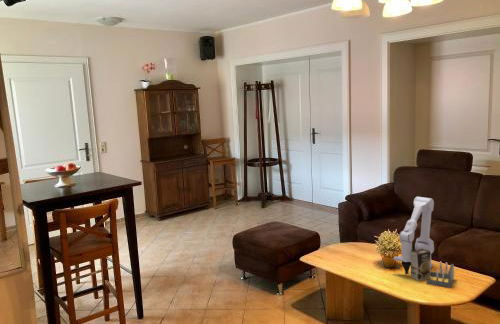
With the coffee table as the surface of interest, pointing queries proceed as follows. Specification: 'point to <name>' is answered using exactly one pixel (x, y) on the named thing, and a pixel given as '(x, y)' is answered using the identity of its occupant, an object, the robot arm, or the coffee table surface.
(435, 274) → the slot rack
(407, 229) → the robot arm
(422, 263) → the coffee box
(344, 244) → the coffee table surface
